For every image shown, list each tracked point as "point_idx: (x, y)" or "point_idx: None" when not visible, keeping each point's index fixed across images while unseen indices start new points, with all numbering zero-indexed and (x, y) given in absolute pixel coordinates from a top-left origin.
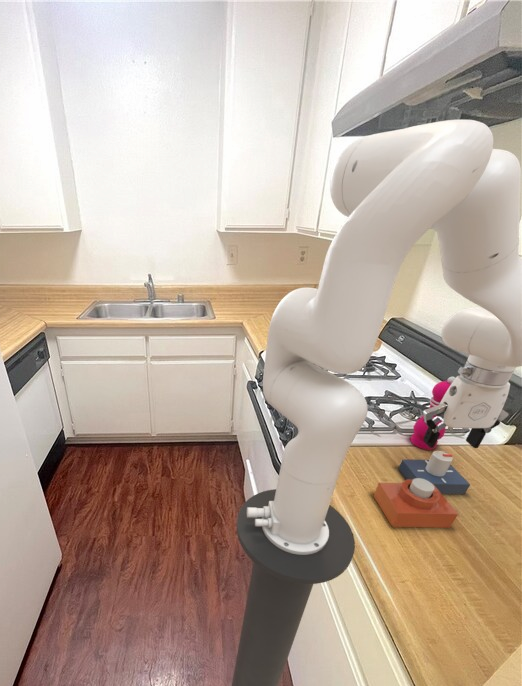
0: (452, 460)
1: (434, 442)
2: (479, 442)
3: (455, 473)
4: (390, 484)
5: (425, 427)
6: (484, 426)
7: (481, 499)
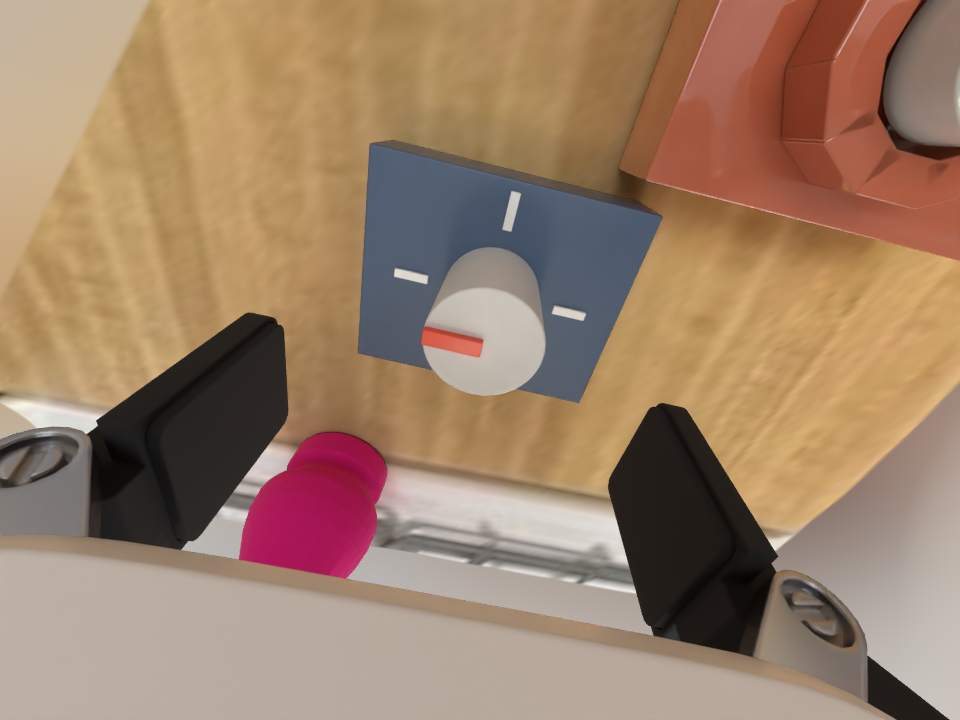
0: (449, 294)
1: (697, 446)
2: (222, 346)
3: (389, 253)
4: (929, 232)
5: (348, 540)
6: (58, 601)
7: (325, 79)
